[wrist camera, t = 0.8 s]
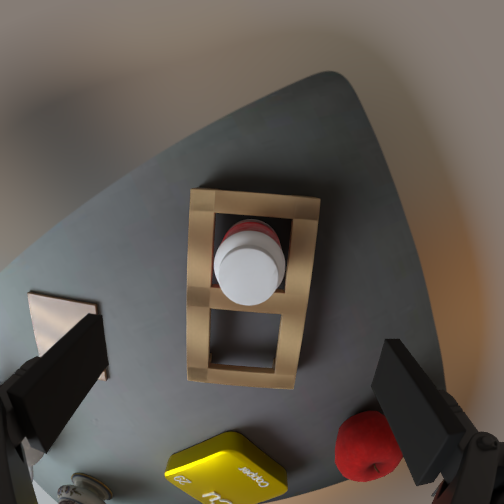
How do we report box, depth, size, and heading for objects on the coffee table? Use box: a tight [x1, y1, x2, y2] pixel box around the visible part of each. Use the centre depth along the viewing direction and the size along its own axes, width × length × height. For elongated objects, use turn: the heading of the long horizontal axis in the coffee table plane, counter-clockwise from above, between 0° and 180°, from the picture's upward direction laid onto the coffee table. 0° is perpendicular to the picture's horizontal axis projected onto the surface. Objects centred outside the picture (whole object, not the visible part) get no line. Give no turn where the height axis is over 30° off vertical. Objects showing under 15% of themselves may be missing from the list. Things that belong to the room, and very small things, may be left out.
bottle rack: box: [187, 187, 321, 389], centre depth 35 cm, size 22×13×4 cm, turn 175°
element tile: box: [165, 431, 288, 504], centre depth 42 cm, size 15×15×5 cm
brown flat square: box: [27, 292, 107, 381], centre depth 39 cm, size 12×12×1 cm
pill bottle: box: [214, 219, 285, 306], centre depth 30 cm, size 6×6×11 cm
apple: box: [335, 411, 403, 482], centre depth 36 cm, size 10×10×11 cm
